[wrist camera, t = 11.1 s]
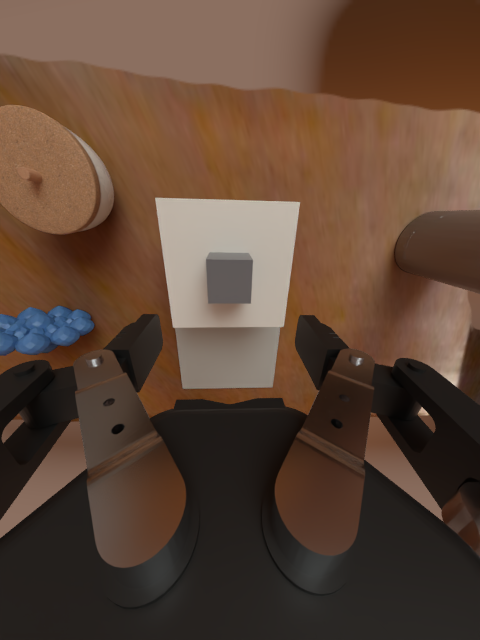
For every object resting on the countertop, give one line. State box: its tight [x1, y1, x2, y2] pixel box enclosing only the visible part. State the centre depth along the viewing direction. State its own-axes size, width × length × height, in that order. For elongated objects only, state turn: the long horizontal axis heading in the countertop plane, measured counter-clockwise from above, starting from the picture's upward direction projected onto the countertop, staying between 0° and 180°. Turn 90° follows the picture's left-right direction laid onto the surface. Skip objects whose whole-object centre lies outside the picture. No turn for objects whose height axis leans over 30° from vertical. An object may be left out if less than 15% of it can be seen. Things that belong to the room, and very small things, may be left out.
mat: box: [175, 327, 280, 389], centre depth 40 cm, size 19×19×1 cm
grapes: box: [0, 306, 95, 355], centre depth 30 cm, size 12×7×12 cm, turn 79°
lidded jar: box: [0, 105, 114, 235], centre depth 23 cm, size 11×11×9 cm
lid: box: [155, 198, 300, 328], centre depth 23 cm, size 15×15×6 cm
